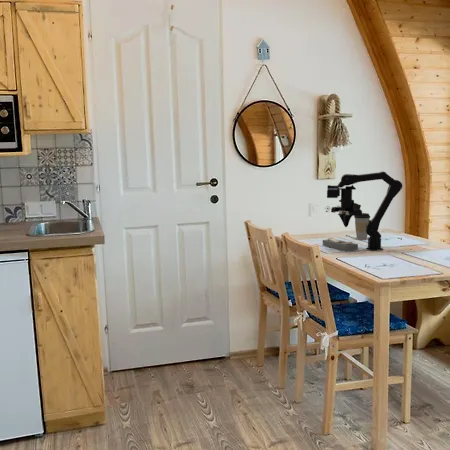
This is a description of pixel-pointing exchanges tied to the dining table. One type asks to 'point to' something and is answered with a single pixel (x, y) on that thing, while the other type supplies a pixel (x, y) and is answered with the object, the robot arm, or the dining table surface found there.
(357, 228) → the coffee cup
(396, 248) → the dining table surface
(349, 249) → the rocker switch box
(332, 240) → the rocker far
